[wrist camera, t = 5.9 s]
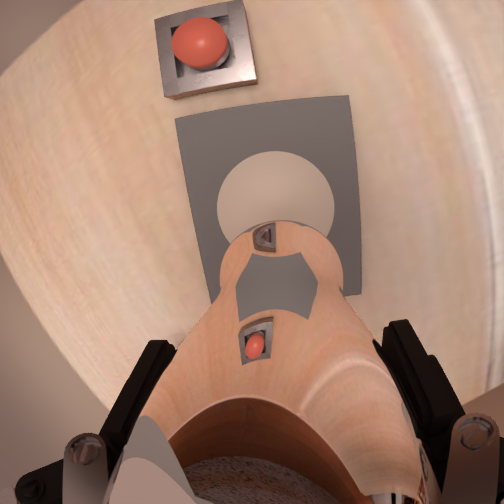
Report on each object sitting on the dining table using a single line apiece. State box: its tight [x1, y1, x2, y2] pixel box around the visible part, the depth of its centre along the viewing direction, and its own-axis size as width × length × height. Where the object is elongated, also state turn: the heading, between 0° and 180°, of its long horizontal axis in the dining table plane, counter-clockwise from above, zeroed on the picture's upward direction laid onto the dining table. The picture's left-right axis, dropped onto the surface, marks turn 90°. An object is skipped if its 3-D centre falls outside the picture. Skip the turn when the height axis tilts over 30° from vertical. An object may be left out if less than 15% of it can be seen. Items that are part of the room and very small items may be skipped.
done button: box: [171, 17, 230, 71], centre depth 22 cm, size 4×4×3 cm
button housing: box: [154, 0, 258, 100], centre depth 24 cm, size 8×8×3 cm
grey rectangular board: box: [175, 95, 362, 304], centre depth 30 cm, size 20×16×1 cm
